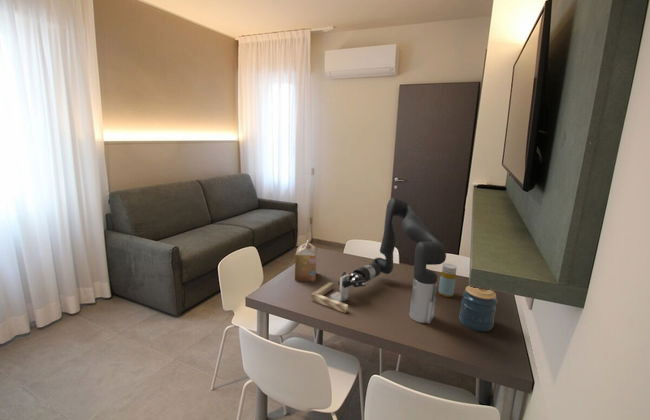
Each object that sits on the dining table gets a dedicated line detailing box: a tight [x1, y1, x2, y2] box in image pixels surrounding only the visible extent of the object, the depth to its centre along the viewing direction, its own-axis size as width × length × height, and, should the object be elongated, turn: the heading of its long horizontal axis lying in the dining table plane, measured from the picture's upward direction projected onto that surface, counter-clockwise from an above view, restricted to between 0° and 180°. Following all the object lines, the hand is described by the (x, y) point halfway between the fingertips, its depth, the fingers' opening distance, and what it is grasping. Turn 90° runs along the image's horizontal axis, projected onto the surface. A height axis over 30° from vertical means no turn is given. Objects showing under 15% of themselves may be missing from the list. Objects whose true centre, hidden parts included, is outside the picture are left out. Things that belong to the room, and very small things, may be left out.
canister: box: [458, 285, 499, 332], centre depth 128 cm, size 13×13×18 cm
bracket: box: [329, 273, 350, 303], centre depth 143 cm, size 7×5×12 cm
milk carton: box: [294, 239, 318, 282], centre depth 164 cm, size 11×11×19 cm
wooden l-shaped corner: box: [310, 281, 349, 314], centre depth 143 cm, size 18×16×3 cm
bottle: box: [438, 262, 457, 298], centre depth 152 cm, size 7×7×15 cm
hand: (341, 284), depth 140 cm, fingers open, 2 cm apart
